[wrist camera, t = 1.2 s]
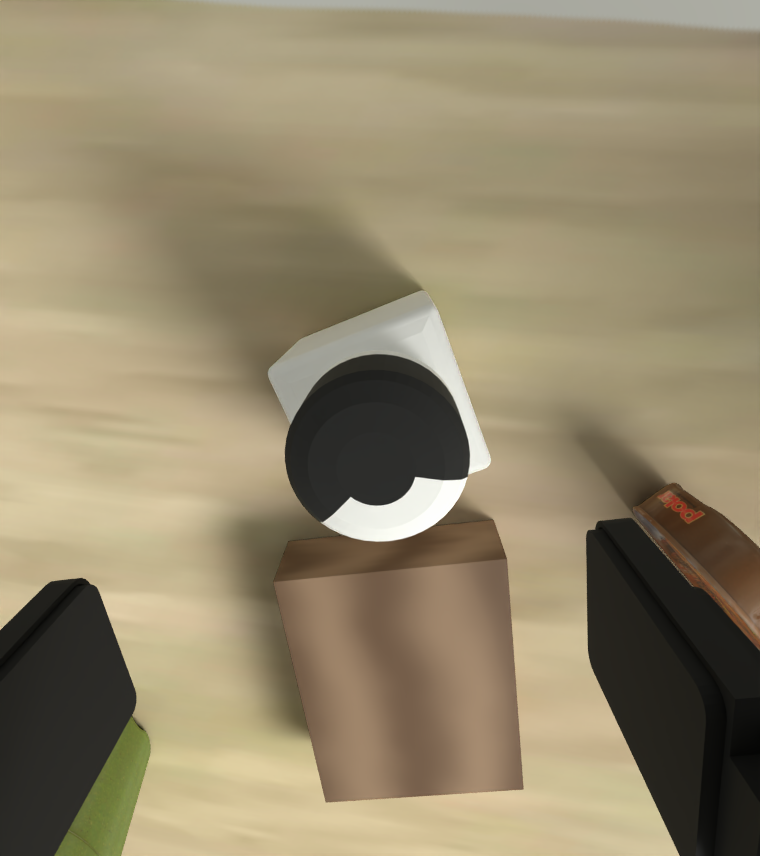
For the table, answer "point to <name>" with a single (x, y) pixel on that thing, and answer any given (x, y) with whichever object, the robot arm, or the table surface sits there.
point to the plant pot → (110, 799)
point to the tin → (707, 553)
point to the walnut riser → (405, 661)
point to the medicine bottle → (378, 422)
